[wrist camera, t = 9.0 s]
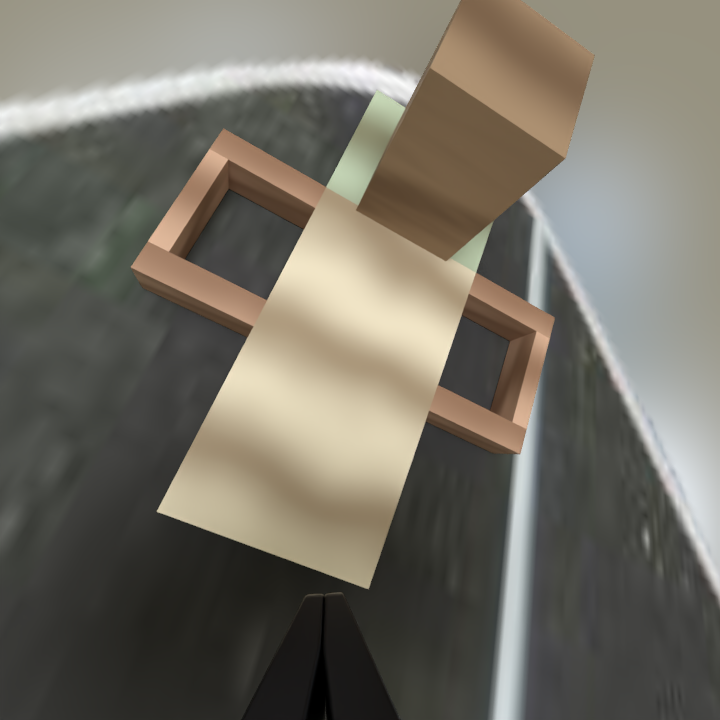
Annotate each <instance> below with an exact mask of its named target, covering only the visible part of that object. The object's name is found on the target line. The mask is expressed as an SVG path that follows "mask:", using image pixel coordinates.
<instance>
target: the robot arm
mask: <svg viewBox="0 0 720 720" xmlns="http://www.w3.org/2000/svg"><path fill="white" fill-rule="evenodd" d="M325 707H326V717H327V720H400V717H399V715H398V713H397V711H396V708H395V706H394V704H393V702H392V700H391V697H390V695H389V693H388V691H387V689H386V686H385V684H384V682H383V680H382V678H381V675H380V673H379V671H378V669H377V666H376V664H375V662H374V660H373V658H372V655H371V653H370V651H369V649H368V647H367V644H366V642H365V640H364V638H363V636H362V633H361V631H360V629H359V627H358V625H357V622H356V620H355V618H354V616H353V613H352V611H351V609H350V607H349V605H348V602H347V600H346V598H345V596H344V594H343V593H341V592H338V593H327V594H326V595H325V598H324V595H323V594H308V595H306V596H305V597H304V599H303V601H302V603H301V605H300V607H299V609H298V611H297V613H296V615H295V617H294V618H293V620H292V622H291V624H290V626H289V628H288V630H287V632H286V634H285V636H284V638H283V640H282V642H281V644H280V646H279V648H278V649H277V651H276V653H275V655H274V657H273V659H272V661H271V663H270V665H269V667H268V669H267V671H266V673H265V675H264V677H263V679H262V681H261V682H260V684H259V686H258V688H257V690H256V692H255V694H254V696H253V698H252V700H251V702H250V704H249V706H248V708H247V710H246V712H245V713H244V715H243V717H242V719H241V720H325Z"/></svg>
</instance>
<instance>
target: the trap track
mask: <svg viewBox="0 0 720 720" xmlns="http://www.w3.org/2000/svg"><path fill="white" fill-rule="evenodd" d="M404 110H405V107H403V106H402V105H400V104H398V103H397V102H395V101H394V100H392V99H391V98H389V97H387V96H386V95H384V94H383V93H381V92H380V91H378V90H377V91H376V93H375V95H374V97H373V99H372V101H371V103H370V105H369V106H368V108H367V110H366V112H365V114H364V116H363V118H362V120H361V122H360V124H359V126H358V127H357V129H356V131H355V133H354V135H353V137H352V139H351V141H350V143H349V145H348V147H347V149H346V150H345V152H344V154H343V156H342V158H341V160H340V162H339V164H338V166H337V168H336V170H335V172H334V173H333V175H332V177H331V179H330V181H329V183H328V185H327V187H325V186H323V185H321V184H320V183H318V182H316V181H314V180H313V179H311V178H309V177H307V176H306V175H304V174H302V173H300V172H299V171H297V170H295V169H293V168H292V167H290V166H288V165H286V164H285V163H283V162H281V161H279V160H278V159H276V158H274V157H272V156H271V155H269V154H267V153H265V152H264V151H262V150H260V149H258V148H257V147H255V146H253V145H251V144H250V143H248V142H246V141H244V140H243V139H241V138H239V137H237V136H236V135H234V134H232V133H230V132H229V131H227V130H225V129H223V130H222V131H221V133H220V134H219V136H218V137H217V139H216V140H215V142H214V143H213V145H212V146H211V148H210V149H209V151H208V152H207V154H206V155H205V157H204V158H203V160H202V161H201V163H200V164H199V166H198V167H197V169H196V170H195V172H194V173H193V175H192V176H191V178H190V179H189V181H188V182H187V184H186V185H185V187H184V188H183V190H182V191H181V193H180V194H179V196H178V197H177V199H176V200H175V202H174V203H173V205H172V206H171V208H170V209H169V211H168V212H167V214H166V215H165V217H164V218H163V220H162V221H161V223H160V224H159V226H158V227H157V229H156V230H155V232H154V233H153V235H152V236H151V238H150V239H149V241H148V242H147V244H146V245H145V247H144V248H143V250H142V251H141V253H140V254H139V256H138V257H137V259H136V260H135V262H134V263H133V265H132V266H131V269H132V271H133V272H134V274H135V276H136V278H137V279H138V281H139V283H140V284H141V286H142V288H144V289H146V290H148V291H150V292H153V293H155V294H157V295H159V296H161V297H163V298H165V299H167V300H169V301H172V302H174V303H176V304H178V305H180V306H182V307H184V308H186V309H189V310H191V311H193V312H195V313H197V314H199V315H201V316H203V317H205V318H208V319H210V320H212V321H214V322H216V323H218V324H220V325H222V326H225V327H227V328H229V329H231V330H233V331H235V332H237V333H239V334H241V335H244V336H246V337H248V338H247V340H246V342H245V344H244V346H243V348H242V349H241V351H240V353H239V355H238V357H237V359H236V361H235V363H234V365H233V367H232V369H231V370H230V372H229V374H228V376H227V378H226V380H225V382H224V384H223V386H222V388H221V390H220V392H219V393H218V395H217V397H216V399H215V401H214V403H213V405H212V407H211V409H210V411H209V413H208V415H207V416H206V418H205V420H204V422H203V424H202V426H201V428H200V430H199V432H198V434H197V436H196V437H195V439H194V441H193V443H192V445H191V447H190V449H189V451H188V453H187V455H186V457H185V459H184V460H183V462H182V464H181V466H180V468H179V470H178V472H177V474H176V476H175V478H174V480H173V481H172V483H171V485H170V487H169V489H168V491H167V493H166V495H165V497H164V499H163V501H162V503H161V504H160V506H159V508H158V510H157V512H159V513H162V514H165V515H167V516H170V517H173V518H175V519H178V520H181V521H184V522H186V523H189V524H192V525H194V526H197V527H200V528H203V529H205V530H208V531H211V532H214V533H216V534H219V535H222V536H224V537H227V538H230V539H233V540H235V541H238V542H241V543H244V544H246V545H249V546H252V547H254V548H257V549H260V550H263V551H265V552H268V553H271V554H274V555H276V556H279V557H282V558H284V559H287V560H290V561H293V562H295V563H298V564H301V565H304V566H306V567H309V568H312V569H314V570H317V571H320V572H323V573H325V574H328V575H331V576H334V577H336V578H339V579H342V580H344V581H347V582H350V583H353V584H355V585H358V586H361V587H363V588H366V589H369V586H370V583H371V580H372V577H373V575H374V572H375V569H376V566H377V563H378V560H379V557H380V554H381V551H382V548H383V545H384V542H385V539H386V536H387V533H388V530H389V527H390V524H391V521H392V519H393V516H394V513H395V510H396V507H397V504H398V501H399V498H400V495H401V492H402V489H403V486H404V483H405V480H406V477H407V474H408V471H409V468H410V465H411V463H412V460H413V457H414V454H415V451H416V448H417V445H418V442H419V439H420V436H421V433H422V430H423V427H424V424H425V421H426V422H428V423H430V424H432V425H434V426H436V427H438V428H440V429H443V430H445V431H447V432H449V433H451V434H453V435H455V436H457V437H460V438H462V439H464V440H466V441H468V442H470V443H472V444H474V445H476V446H479V447H481V448H483V449H485V450H487V451H489V452H491V453H500V454H520V453H521V449H522V445H523V441H524V437H525V433H526V429H527V425H528V422H529V418H530V414H531V410H532V406H533V402H534V398H535V394H536V390H537V386H538V382H539V378H540V374H541V370H542V366H543V363H544V359H545V355H546V351H547V347H548V343H549V339H550V335H551V331H552V327H553V323H554V319H555V318H554V317H552V316H551V315H549V314H547V313H545V312H544V311H542V310H540V309H538V308H537V307H535V306H533V305H531V304H530V303H528V302H526V301H524V300H523V299H521V298H519V297H517V296H516V295H514V294H512V293H510V292H509V291H507V290H505V289H503V288H502V287H500V286H498V285H496V284H495V283H493V282H491V281H489V280H488V279H486V278H484V277H482V276H481V275H479V274H477V273H476V271H477V268H478V265H479V262H480V259H481V256H482V253H483V250H484V247H485V245H486V242H487V239H488V236H489V233H490V230H491V227H492V224H493V221H492V222H491V223H490V224H489V225H488V226H487V227H485V228H484V229H483V230H482V231H481V232H480V233H478V234H477V235H476V236H475V237H474V238H473V239H472V240H470V241H469V242H468V243H467V244H466V245H465V246H463V247H462V248H461V249H460V250H459V251H458V252H456V253H455V254H454V255H453V256H452V257H451V258H450V259H448V260H447V261H444V260H442V259H441V258H439V257H437V256H435V255H434V254H432V253H430V252H428V251H427V250H425V249H423V248H421V247H420V246H418V245H416V244H414V243H412V242H411V241H409V240H407V239H405V238H404V237H402V236H400V235H398V234H397V233H395V232H393V231H391V230H390V229H388V228H386V227H384V226H383V225H381V224H379V223H377V222H375V221H374V220H372V219H370V218H368V217H367V216H365V215H363V214H361V213H360V212H358V211H356V209H357V207H358V205H359V203H360V200H361V198H362V196H363V194H364V192H365V190H366V188H367V186H368V184H369V182H370V180H371V178H372V175H373V173H374V171H375V169H376V167H377V165H378V163H379V161H380V159H381V157H382V155H383V153H384V150H385V148H386V146H387V144H388V142H389V140H390V138H391V136H392V134H393V132H394V130H395V128H396V126H397V124H398V122H399V120H400V118H401V116H402V114H403V112H404ZM228 189H231V190H232V191H234V192H236V193H238V194H240V195H242V196H243V197H245V198H247V199H249V200H251V201H253V202H255V203H256V204H258V205H260V206H262V207H264V208H266V209H267V210H269V211H271V212H273V213H275V214H277V215H278V216H280V217H282V218H284V219H286V220H288V221H290V222H291V223H293V224H295V225H297V226H299V227H301V228H302V229H304V231H303V233H302V235H301V237H300V238H299V240H298V242H297V244H296V246H295V248H294V250H293V252H292V254H291V256H290V258H289V260H288V261H287V263H286V265H285V267H284V269H283V271H282V273H281V275H280V277H279V279H278V281H277V282H276V284H275V286H274V288H273V290H272V292H271V294H270V296H269V298H268V300H265V299H263V298H261V297H259V296H257V295H255V294H253V293H251V292H249V291H247V290H245V289H243V288H241V287H239V286H237V285H235V284H233V283H231V282H229V281H227V280H225V279H223V278H221V277H219V276H217V275H215V274H213V273H211V272H209V271H207V270H205V269H203V268H201V267H199V266H197V265H195V264H193V263H191V262H189V261H187V260H184V259H185V258H186V256H187V255H188V253H189V251H190V250H191V248H192V247H193V245H194V243H195V242H196V240H197V239H198V237H199V235H200V234H201V232H202V231H203V229H204V227H205V226H206V224H207V223H208V221H209V219H210V218H211V216H212V214H213V213H214V211H215V210H216V208H217V206H218V205H219V203H220V202H221V200H222V198H223V197H224V195H225V194H226V192H227V190H228ZM461 315H463V316H465V317H466V318H468V319H470V320H472V321H474V322H476V323H477V324H479V325H481V326H483V327H485V328H487V329H489V330H490V331H492V332H494V333H496V334H498V335H500V336H501V337H503V338H505V339H507V340H509V341H510V343H509V347H508V350H507V354H506V357H505V361H504V364H503V368H502V371H501V375H500V378H499V382H498V385H497V389H496V392H495V395H494V399H493V402H492V406H491V409H490V411H489V410H487V409H485V408H483V407H481V406H479V405H477V404H475V403H473V402H471V401H469V400H467V399H465V398H463V397H461V396H459V395H457V394H455V393H453V392H451V391H449V390H447V389H445V388H443V387H441V386H439V385H438V383H439V380H440V377H441V374H442V371H443V368H444V365H445V362H446V359H447V356H448V354H449V351H450V348H451V345H452V342H453V339H454V336H455V333H456V330H457V327H458V324H459V321H460V318H461Z"/></svg>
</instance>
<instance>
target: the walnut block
mask: <svg viewBox="0 0 720 720" xmlns="http://www.w3.org/2000/svg"><path fill="white" fill-rule="evenodd" d="M593 60H594V55H593V54H592V53H591V52H589V51H588V50H587V49H585V48H584V47H583V46H581V45H580V44H579V43H577V42H576V41H575V40H573V39H572V38H571V37H569V36H568V35H566V34H565V33H564V32H563V31H561V30H560V29H559V28H557V27H556V26H555V25H553V24H552V23H551V22H549V21H548V20H547V19H545V18H544V17H542V16H541V15H540V14H538V13H537V12H536V11H534V10H533V9H532V8H531V7H529V6H528V5H526V4H525V3H524V2H522V1H521V0H461V1H460V3H459V5H458V7H457V9H456V11H455V13H454V15H453V16H452V18H451V21H450V22H449V24H448V27H447V28H446V30H445V32H444V34H443V36H442V38H441V40H440V42H439V44H438V46H437V48H436V50H435V52H434V54H433V56H432V58H431V59H430V62H429V63H428V66H427V67H426V70H425V71H424V73H423V75H422V77H421V79H420V81H419V83H418V85H417V87H416V89H415V91H414V93H413V95H412V97H411V99H410V101H409V103H408V104H407V106H406V108H405V110H404V112H403V114H402V116H401V118H400V120H399V122H398V124H397V126H396V128H395V130H394V132H393V134H392V136H391V138H390V140H389V142H388V144H387V146H386V148H385V150H384V153H383V155H382V157H381V159H380V161H379V163H378V165H377V167H376V169H375V171H374V173H373V175H372V178H371V180H370V182H369V184H368V186H367V188H366V190H365V192H364V194H363V196H362V198H361V200H360V203H359V205H358V207H357V209H356V211H358V212H360V213H361V214H363V215H365V216H367V217H368V218H370V219H372V220H374V221H375V222H377V223H379V224H381V225H383V226H384V227H386V228H388V229H390V230H391V231H393V232H395V233H397V234H398V235H400V236H402V237H404V238H405V239H407V240H409V241H411V242H412V243H414V244H416V245H418V246H420V247H421V248H423V249H425V250H427V251H428V252H430V253H432V254H434V255H435V256H437V257H439V258H441V259H442V260H444V261H447V260H448V259H450V258H451V257H452V256H453V255H454V254H455V253H456V252H458V251H459V250H460V249H461V248H462V247H463V246H465V245H466V244H467V243H468V242H469V241H470V240H472V239H473V238H474V237H475V236H476V235H477V234H478V233H480V232H481V231H482V230H483V229H484V228H485V227H487V226H488V225H489V224H490V223H491V222H492V221H494V220H495V219H496V218H497V217H498V216H499V215H500V214H502V213H503V212H504V211H505V210H506V209H507V208H509V207H510V206H511V205H512V204H513V203H514V202H516V201H517V200H518V199H519V198H520V197H521V196H523V195H524V194H525V193H526V192H527V191H528V190H529V189H531V188H532V187H533V186H534V185H535V184H536V183H538V182H539V181H540V180H541V179H542V178H543V177H544V176H546V175H547V174H548V173H549V172H550V171H551V170H553V169H554V168H555V167H556V166H557V165H558V164H560V163H561V162H562V161H563V160H564V159H565V158H566V155H567V151H568V148H569V144H570V141H571V137H572V133H573V130H574V126H575V123H576V119H577V116H578V112H579V109H580V105H581V102H582V98H583V95H584V91H585V88H586V84H587V81H588V77H589V74H590V70H591V67H592V63H593Z"/></svg>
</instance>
